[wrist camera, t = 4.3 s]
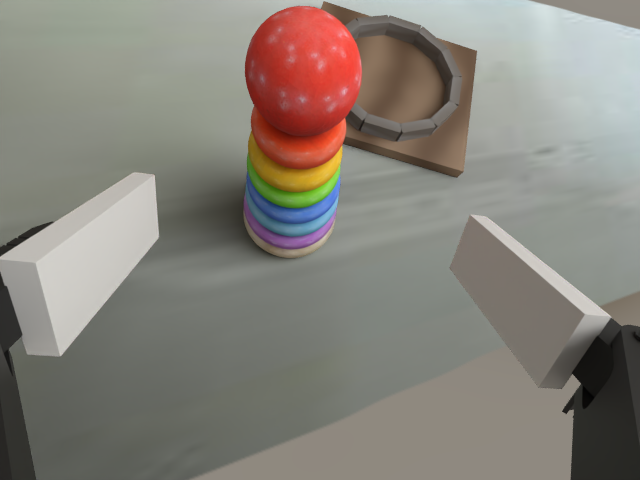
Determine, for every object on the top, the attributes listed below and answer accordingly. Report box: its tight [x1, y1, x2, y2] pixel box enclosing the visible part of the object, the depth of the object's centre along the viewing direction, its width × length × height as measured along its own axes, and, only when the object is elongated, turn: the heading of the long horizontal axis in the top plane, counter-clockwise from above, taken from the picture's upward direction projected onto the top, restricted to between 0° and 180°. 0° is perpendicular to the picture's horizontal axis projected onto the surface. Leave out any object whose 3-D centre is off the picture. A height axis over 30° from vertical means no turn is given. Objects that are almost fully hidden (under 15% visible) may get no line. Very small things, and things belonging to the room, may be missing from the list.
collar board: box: [321, 2, 477, 177], centre depth 35 cm, size 18×16×3 cm
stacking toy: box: [243, 6, 362, 258], centre depth 21 cm, size 8×8×19 cm
